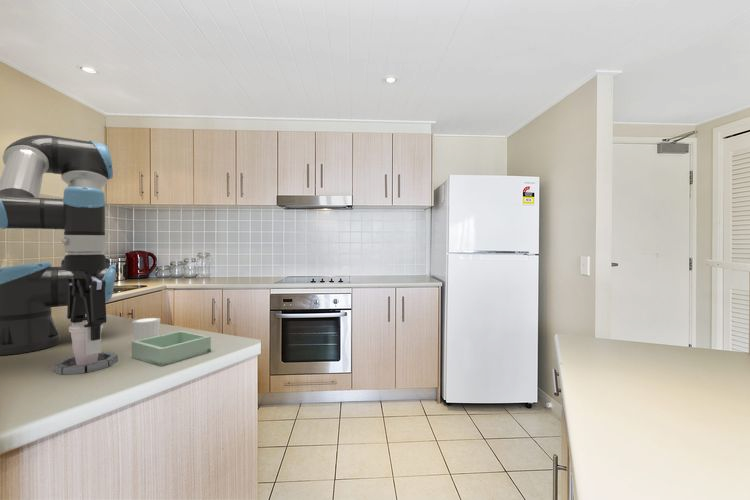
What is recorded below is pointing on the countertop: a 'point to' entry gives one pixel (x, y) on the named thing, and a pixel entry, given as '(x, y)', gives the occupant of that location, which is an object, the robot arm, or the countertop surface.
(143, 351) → the bin
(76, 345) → the smoothie
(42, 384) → the countertop surface
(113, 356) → the collar
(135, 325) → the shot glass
